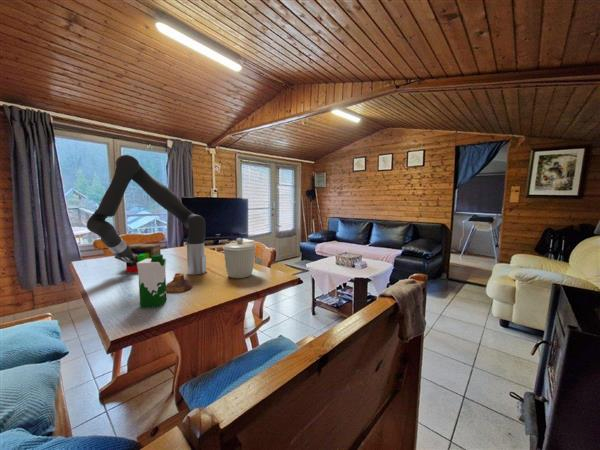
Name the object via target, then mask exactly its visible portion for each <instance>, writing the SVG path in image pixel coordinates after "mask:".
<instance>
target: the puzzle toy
mask: <svg viewBox="0 0 600 450" xmlns="http://www.w3.org/2000/svg"><path fill="white" fill-rule="evenodd" d="M134 254H139V257H138V259H137V260H136V262H137V263H138V262H140V261H142V260H145V259H151V252H140V251H137V252H134ZM133 257H134V256H133ZM125 264H126V265H125V267H126V273H138V268H137V264H136V266H132V265H131V264H130V263H128V262H127V261H126V262H125Z"/></svg>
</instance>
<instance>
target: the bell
mask: <svg viewBox="0 0 600 450" xmlns="http://www.w3.org/2000/svg"><path fill="white" fill-rule="evenodd" d="M192 288H193V284H192V283H191V282H190V281H189V280H188V279H185V275H184V273H180V272H179V273H178V272H177V273H174V277H173V278H172V280H171V281H169V282H168V283H166V293H171V294H178V293H179V294H180V293H184V292H188V291H190V290H191V289H192Z"/></svg>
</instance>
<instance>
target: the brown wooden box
mask: <svg viewBox="0 0 600 450" xmlns="http://www.w3.org/2000/svg"><path fill="white" fill-rule="evenodd" d="M128 246H129V247H130V248H131V251H132V252H133V253H134V252H137V251H140V252H151V256H152V255H157V254H161V244H160V243H131V244H128Z"/></svg>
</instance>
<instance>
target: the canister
mask: <svg viewBox="0 0 600 450" xmlns="http://www.w3.org/2000/svg"><path fill="white" fill-rule="evenodd" d="M256 248H257V245H256V244H254V243H251V242H247V241H246V242H245V241H244V240H243V238H241V237H237V238H236V242H230V243H226V244H224V245H223V246H222V249H223V254H224V261H225V267H226V274H227V276H229V278H231V279H245V278H249V277H250V276H251V275H252V274H253V271H254V264H255V263H254V262H255V254H256Z"/></svg>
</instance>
